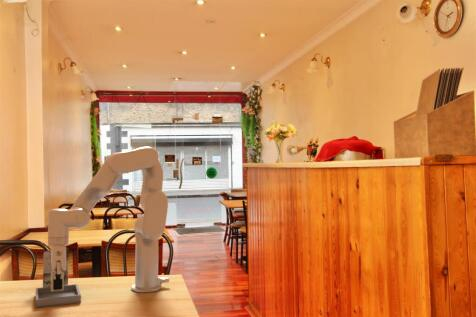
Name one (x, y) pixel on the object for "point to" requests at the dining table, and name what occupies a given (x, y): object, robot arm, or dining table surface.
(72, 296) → the tray
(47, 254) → the coffee box
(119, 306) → the dining table surface
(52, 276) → the cream rectangular block
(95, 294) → the dining table surface
